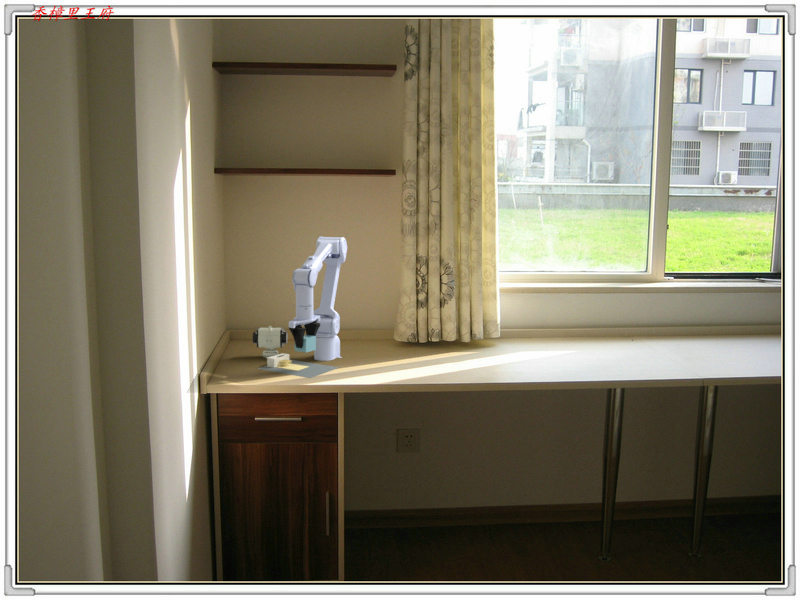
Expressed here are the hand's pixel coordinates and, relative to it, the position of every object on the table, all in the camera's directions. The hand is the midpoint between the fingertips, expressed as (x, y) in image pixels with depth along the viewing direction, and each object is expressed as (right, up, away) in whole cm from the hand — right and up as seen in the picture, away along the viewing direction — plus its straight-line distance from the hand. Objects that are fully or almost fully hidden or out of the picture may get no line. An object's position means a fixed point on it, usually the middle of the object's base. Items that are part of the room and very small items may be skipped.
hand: (305, 345), depth 229 cm
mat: (-3, -8, +3) cm, 9 cm away
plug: (0, -1, 0) cm, 1 cm away
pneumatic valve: (-15, -6, +18) cm, 24 cm away
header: (-9, -7, +6) cm, 13 cm away
